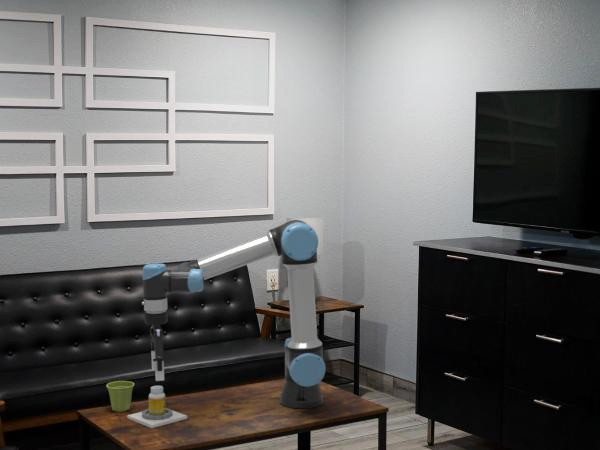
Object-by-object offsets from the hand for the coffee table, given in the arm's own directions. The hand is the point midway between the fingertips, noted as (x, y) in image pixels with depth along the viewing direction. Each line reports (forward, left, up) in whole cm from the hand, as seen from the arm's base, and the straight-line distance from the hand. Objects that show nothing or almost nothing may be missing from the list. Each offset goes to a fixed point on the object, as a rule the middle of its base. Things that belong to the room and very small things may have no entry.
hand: (158, 375), depth 291 cm
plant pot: (+17, +3, -15) cm, 23 cm away
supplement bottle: (0, 0, -14) cm, 14 cm away
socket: (0, 0, -15) cm, 15 cm away
